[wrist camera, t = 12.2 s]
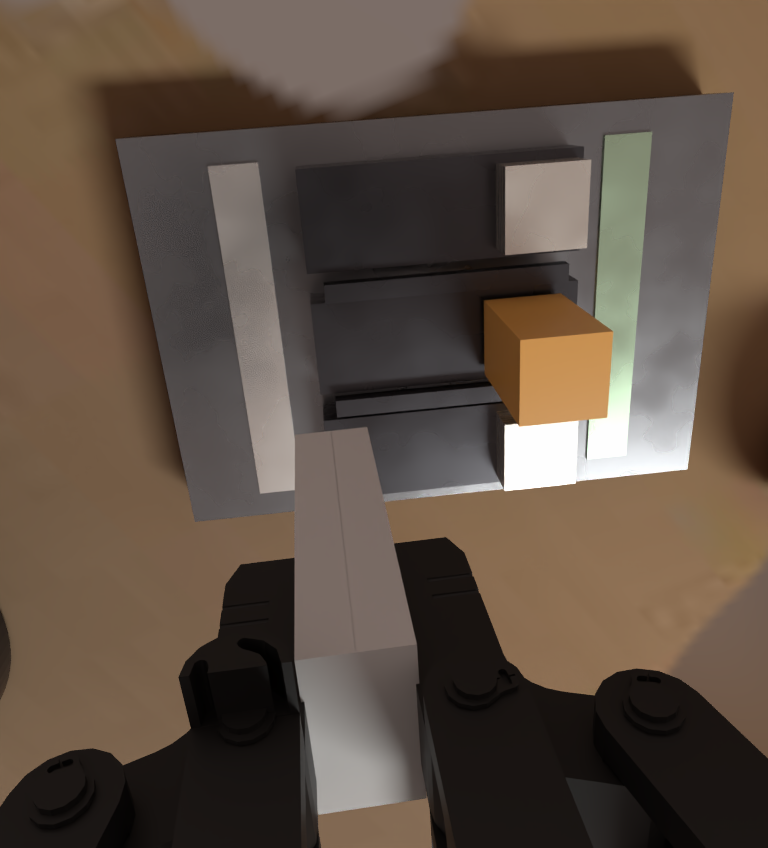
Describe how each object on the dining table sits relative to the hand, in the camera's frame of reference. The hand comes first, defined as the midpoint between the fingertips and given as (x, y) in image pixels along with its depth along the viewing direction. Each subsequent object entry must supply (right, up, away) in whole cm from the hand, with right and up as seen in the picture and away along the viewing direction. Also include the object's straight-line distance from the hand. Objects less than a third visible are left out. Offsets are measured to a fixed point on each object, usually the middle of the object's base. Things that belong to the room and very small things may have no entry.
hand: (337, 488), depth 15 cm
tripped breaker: (+6, +4, +9) cm, 12 cm away
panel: (+3, +6, +12) cm, 14 cm away
